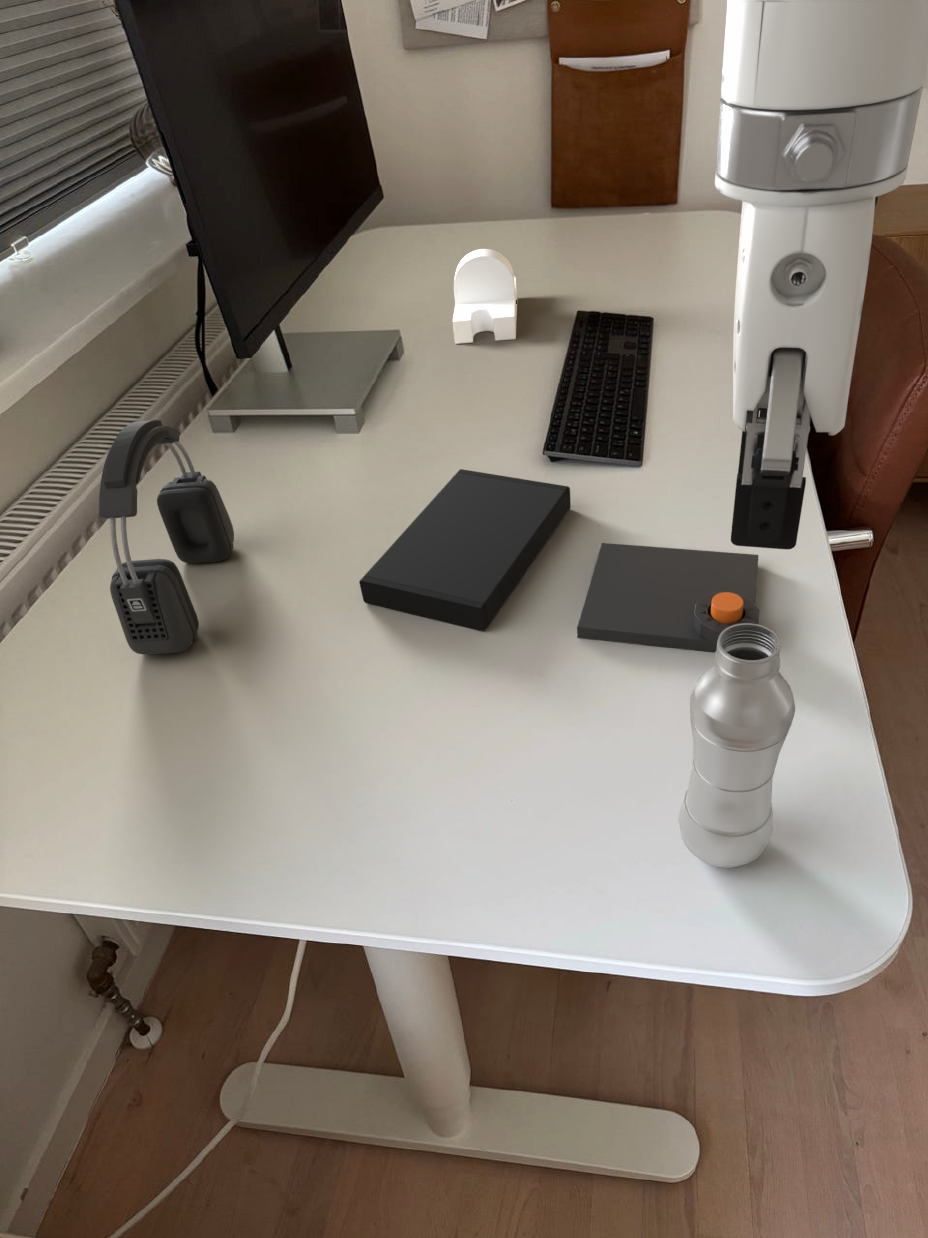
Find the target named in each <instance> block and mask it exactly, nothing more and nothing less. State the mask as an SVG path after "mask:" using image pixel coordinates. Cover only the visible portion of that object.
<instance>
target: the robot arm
mask: <svg viewBox="0 0 928 1238" xmlns="http://www.w3.org/2000/svg"><path fill="white" fill-rule="evenodd" d="M725 15H726V16H725V30H724V42H723V43H724V44H723V57H722V70H721V71H722V73H721V86H720V87H721V88H720V89H721V90H720V95H721V96H720V101H719V114H718V115H719V116H718V128H717V142H716V143H717V144H716V160H715V177H714V187H715V189H716V190H717V191H718V192H719V193H721V195H724V196H726V197H727V198H730V199H733V200H735V201H739V202H741V216H740V227H739V230H740V231H739V241H738V251H737V252H738V254H737V267H736V281H735V297H734V313H733V314H734V315H733V343H732V345H733V346H732V347H733V348H732V410H733V412H732V413H733V414H732V416H733V417H732V418H733V421H732V422H733V424H734V425H735V426H736V427H737V428H738V429H739V430H740V431H741V439H740V449H739V459H738V469H737V470H738V471H737V474H736V481H735V483H736V484H735V492H734V503H733V512H732V522H731V531H730V542H731V544H733V545H734V546H736V547H745V548H746V547H747V548H759V549H760V548H762V549H776V550H792V549H794V548H795V547H796V545H797V541H798V535H799V530H800V529H799V528H800V522H801V516H802V509H803V503H804V498H805V497H804V496H805V490H806V483H807V477H806V476H804V471H805V470H804V469H805V462H806V454H807V448H808V441H809V433H810V432H811V426H810V425H811V421H812V423H813V428H814V429H815V432H816V433H827V434H828V436H835V435H837V434H838V433H840V432H841V431H842V430H843V429H844V428H845V425H846V418H847V411H848V402H849V396H850V388H851V383H852V376H853V369H854V363H855V356H856V350H857V344H858V338H859V337H858V336H859V331H860V325H861V319H862V311H863V305H864V299H865V292H866V291H865V290H866V286H867V279H868V271H869V265H870V256H871V248H872V240H873V231H874V221H875V207H876V197H880V196H883V195H885V194H886V195H887V194H888V193H890V192H893V191H894V190H896V189H898V188H899V187H900V186H901V185H903V184H904V182H905V181H906V178H907V172H908V167H909V161H910V156H911V151H912V144H913V139H914V135H915V129H916V125H917V120H918V114H919V109H920V103H921V99H922V94H923V88H924V84H925V79H926V75H927V74H926V73H927V68H928V0H726V13H725Z"/></svg>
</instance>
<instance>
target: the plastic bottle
mask: <svg viewBox="0 0 928 1238" xmlns="http://www.w3.org/2000/svg"><path fill="white" fill-rule="evenodd" d="M781 648H782V647H781V641H780V638H779V635H777V634H776V632H774V631H773V630H772V629H770V628H769V627H766V626H764V625H761V624H759V623H758V624H751V623H742V624H736V625H732V626H730V627H728V628H726V629H725V630H723V631H722V632H721V634H720V635H719V638H718V641H717V650H716V652H714V656H713V665H712V666H711V667H709V669H707V670H706V671H705V672H704V673H703V674H701V676H699V678H698V680H697V681H696V683H695V685H694V686H693V689H692V690H691V693H690V696H689V715H690V716H689V717H690V727H691V736H692V768H691V773H690V776H689V781H688V785H687V789H686V791H685V793H684V795H683V798H682V801H681V805H680V808H679V811H678V817H677V818H678V826H679V833H680V836H681V840H682V841H683V844H684V846H685V847H686V848H687V850H688V852H690V853H691V854H692V855H693V856H694V857H696V858H697V859H699V860H700V861H702V862H703V863H705V864H708V865H710V866H713V867H717V868H724V869H725V868H726V869H727V868H736V867H741V866H745V865H747V864H749V863H752V862H753V861H755V860H757V859H758V858H759V857H760V856H761V855H762V853H763V852H764V851H765V849H766V847H767V845H768V844H769V841H770V840H771V837H772V835H773V832H774V831H773V830H774V813H773V812H774V810H773V804H772V795H773V778H774V774H775V771H776V767H777V763H778V760H779V756H780V753H781V751H782V748H783V745H784V743H785V741H786V739H787V737H788V734H789V731H790V729H791V727H792V724H793V720H794V717H795V714H796V703H795V697H794V694H793V689H792V688H791V685H790V684H789V682H788V681H787V679H786V678H785V677H784V676H783V675H782V673H781V672H780V667H781V657H780V655H781Z"/></svg>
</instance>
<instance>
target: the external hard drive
mask: <svg viewBox="0 0 928 1238" xmlns="http://www.w3.org/2000/svg"><path fill="white" fill-rule="evenodd" d="M570 509H571V488H570V486H567V485H562V484H555V483H550V482H544V481H537V480H531V479H525V478H518V477H512V476H506V475H501V474H500V475H499V474H494V473H488V472H481V471H475V470H469V469H462V468H460V469H459V470H457V472H456V473H455V474H454V475H453V476H452V478H451V479H450V480H449V481H447V483H446V484H445V485H444V486H443V488H442V489H441V490H440V491H439V492H438V493H437V494H436V495H435V496H434V497H433V499H432V500H431V501H429V503H428V504H427V505H426V506H425V508H424V509H422V511H421V512H420V513H419V514H418V515H417V517H416V518H415V519H414V520H413V521H412V522H411V523H410V524H409V525H408V526H407V528H406V529H405V530H404V531H403V532H402V533H401V534H400V536H398V537H397V539H395V541H394V542H393V543H392V544H391V545H390V547H388V549H387V550H386V551H385V552H384V553H383V554H382V556H380V558H379V559H378V560H376V562H375V563H374V564H373V565H372V566H371V568H370V569H369V570H368V571H367V572H366V573H365V574H364V575H363V576H362V578H361V579H360V580H359V581H358V582H359V587H360V592H361V596H362V601H363V603H365V604H369V605H372V606H376V607H379V608H384V609H389V610H393V611H397V612H401V613H405V614H409V615H413V616H417V617H422V618H426V619H430V620H434V621H437V622H442V623H447V624H450V625H453V626H459V627H462V628H467V629H471V630H476V631H480V632H486V630H487V629H488V627H490V625H491V623H492V621H493V620H494V618H495V617H496V616H497V614H498V613H499V611H500V610H501V608H502V607H503V605H504V604H505V603H506V601H507V600H508V598H509V597H510V596H511V595H512V592H513V591H514V589H516V587H517V585H518V584H519V582H520V581H521V580H522V578H523V577H524V575H525V574H526V572H527V571H528V570H529V568H530V566H531V565H532V564H533V562H534V561H535V559H536V558H537V556H539V554H540V552H541V551H542V549H543V548H544V546H545V545H546V544H547V543H548V541H549V539H550V538H551V536H552V535H553V534H554V532H555V530H557V528H558V526H559V525H560V523H561V522H562V520H563V519H564V518H565V516H566V515H567V514H568V512H569V510H570Z"/></svg>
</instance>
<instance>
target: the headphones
mask: <svg viewBox="0 0 928 1238" xmlns="http://www.w3.org/2000/svg"><path fill="white" fill-rule="evenodd" d="M173 443H174V445H175V446H176V447H177V448H178V449H179V451H180V453H181V454H182V455H183V458H184V459H185V462H186V464H187V466H188V469H189V472H188V471H186V467H185V465H184V462H183V460H182V458H181V456H180V454H179V453H178V450H177V449H176V448H175V446H174V445H173ZM163 444H164V445H165V446H166V447H167V448H168V449H169V450H170V451H171V453H172V454H173V456H174V458H175V460H176V462H177V465H178V466H179V468H180V472H181V475H180V477H174V478H173V479H172V480H171V481H170V482H167V483H166V484H165V485H163V486H162V488H161V489H160V490H159V493H158V494H157V497H156V506H157V509H158V512H159V515H160V516H161V519H162V523H163V525H164V527H165V530H166V532H167V535H168V537H169V540H170V542H171V545H172V547H173V550H174V552H175V554H176V556H177V558H178V559H179V561H181V562H183V563H186V564H206V563H217V562H222V561H225V560H226V559H228V557H230V554H231V553H232V552H233V550H234V541H235V532H234V531H235V530H234V527H233V523H232V520H231V517H230V515H229V512H228V509H227V508H226V505H225V503H224V500H223V497H222V496H221V493H220V491H219V489H218V487H217V485H216V484H215V482H213V481H212V480H211V479H207V477H206V476H205V475H202V473H201V471H196V470H195V468H194V465H193V462H192V459H191V458H190V456H189V453H188V452H187V450H186V448H185V447H184V446H183V445H182V444H183V443H181V442H180V431H179V430H178V429H176V428H175V427H172V426H168V425H163V423H162V420H159V419H152V420H140V421H133V422H130V423H129V424H127V425H125V426H124V427H123V428H122V429H121V430H120V431H119V433H118V434H117V435H116V437H115V439H114V441H113V443H112V444H111V446H110V448H109V450H108V453H107V456H106V457H105V460H104V464H103V468H102V471H101V472H102V473H101V476H100V477H101V478H100V485H99V494H98V516H99V517H100V518H103V519H109V525H110V526H109V528H110V529H109V531H110V542H111V546H112V553H113V557H114V560H115V565H116V569H115V571H114V572H113V574H112V576H111V580H110V586H109V592H110V596H111V600H112V602H113V605H114V608H115V611H116V615H117V617H118V620H119V623H120V625H121V628H122V631H123V634H124V638H125V640H126V643H127V645H128V647H129V649H130V650H131V651H132V652H133V653H136V654H138V655H160V654H162V655H163V654H177V653H182V652H185V651H187V650H189V648H190V647H191V645H192V644H193V643H194V642H195V641H196V640H197V638H198V635H199V628H200V621H199V618H198V615H197V612H196V610H195V607H194V604H193V602H192V600H191V597H190V595H189V592H188V589H187V587H186V584H185V582H184V579H183V577H182V574H181V571H180V570H179V568H178V566H177V565H176V563H175V562H174V561H172V560H170V559H166V558H150V559H138V560H132V557H131V553H130V547H129V541H128V533H127V532H128V531H127V518H134V517H136V516H137V515H138V487H137V484H138V483H139V481H140V479H141V476H142V473H143V469H144V465H145V463H146V461H147V458H148V457H149V454H150V453H151V451H152V450H153V449H154V448H155V446H157V445H163ZM117 519H120V534H121V543H122V549H123V554H124V557H125V562H122V560H121V559H122V558H121V555H120V551H119V547H118V546H119V545H118V537H117Z"/></svg>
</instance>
